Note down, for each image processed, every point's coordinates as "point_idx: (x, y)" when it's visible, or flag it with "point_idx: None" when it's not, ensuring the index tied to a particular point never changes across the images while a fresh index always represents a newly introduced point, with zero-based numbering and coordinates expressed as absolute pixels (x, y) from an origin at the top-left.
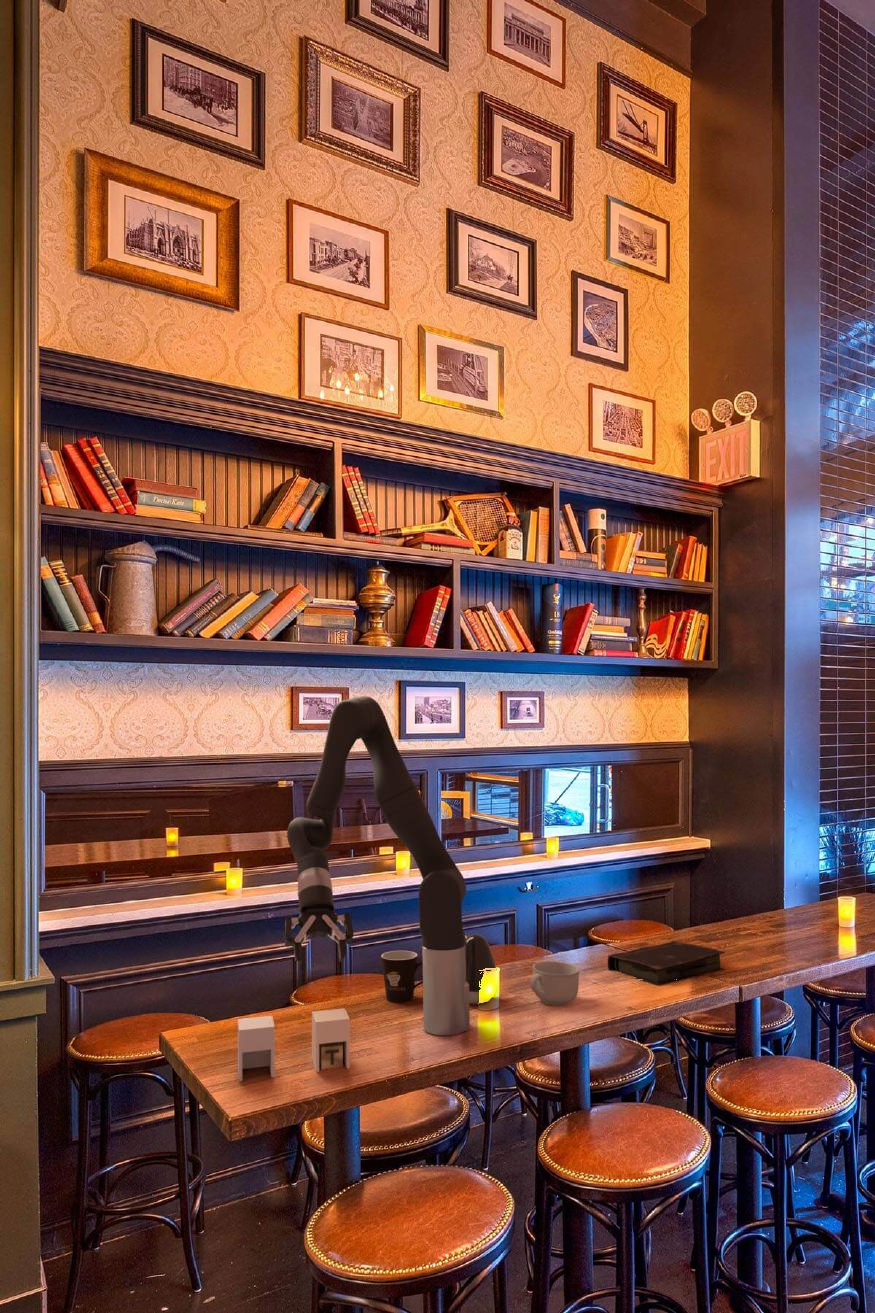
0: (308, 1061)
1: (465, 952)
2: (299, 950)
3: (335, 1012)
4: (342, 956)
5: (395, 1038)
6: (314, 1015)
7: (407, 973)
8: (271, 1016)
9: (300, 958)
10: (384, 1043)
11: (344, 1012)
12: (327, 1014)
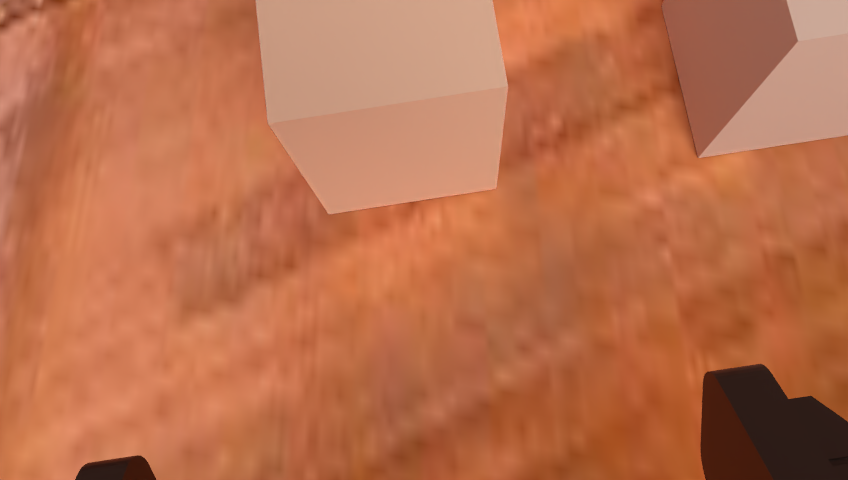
0: (513, 174)
1: None
2: (814, 463)
3: (335, 45)
4: (111, 462)
5: (35, 435)
6: (484, 6)
7: None
8: (799, 23)
9: (741, 369)
10: (106, 366)
11: (272, 36)
12: (392, 12)
